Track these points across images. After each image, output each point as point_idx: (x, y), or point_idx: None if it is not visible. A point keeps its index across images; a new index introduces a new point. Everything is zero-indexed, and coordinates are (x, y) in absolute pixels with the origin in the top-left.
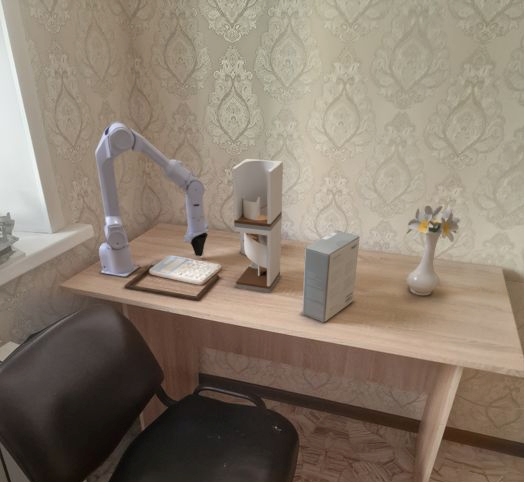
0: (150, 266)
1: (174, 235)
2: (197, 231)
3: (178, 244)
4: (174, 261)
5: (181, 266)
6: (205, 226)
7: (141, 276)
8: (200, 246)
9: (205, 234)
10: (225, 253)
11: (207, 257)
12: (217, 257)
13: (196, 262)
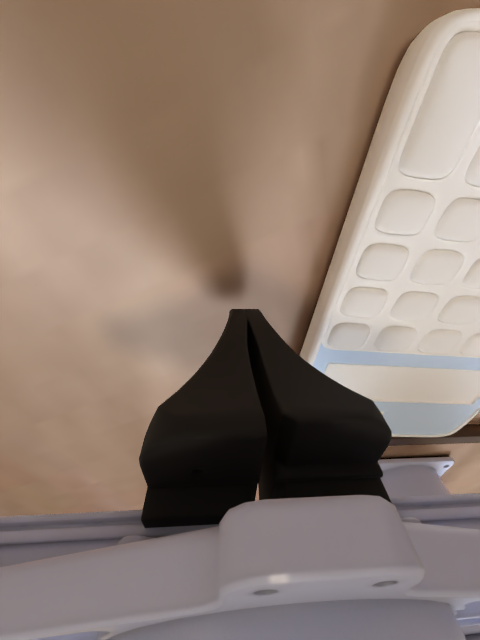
0: (392, 442)
1: (41, 484)
2: (456, 624)
3: (112, 447)
4: None
5: (450, 346)
6: (20, 598)
7: (467, 429)
8: (299, 358)
9: (208, 448)
10: (36, 155)
11: (190, 273)
12: (156, 198)
13: (382, 292)
